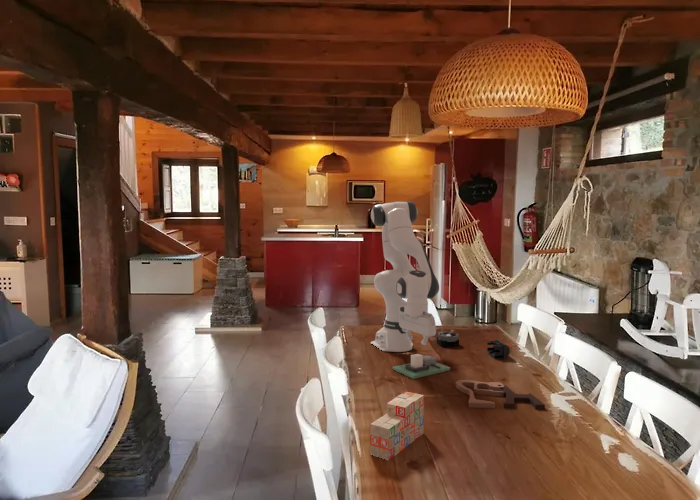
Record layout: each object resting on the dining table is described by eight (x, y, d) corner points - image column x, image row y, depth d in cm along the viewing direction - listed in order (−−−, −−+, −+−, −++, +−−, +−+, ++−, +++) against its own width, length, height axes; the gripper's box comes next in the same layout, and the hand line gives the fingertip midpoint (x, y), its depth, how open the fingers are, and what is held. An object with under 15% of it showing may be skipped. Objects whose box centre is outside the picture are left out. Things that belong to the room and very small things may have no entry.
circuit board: (392, 369, 220) (392, 360, 219) (428, 361, 230) (428, 353, 230) (413, 378, 208) (413, 369, 207) (450, 370, 218) (450, 361, 218)
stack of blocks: (388, 461, 141) (389, 418, 140) (369, 455, 145) (369, 413, 144) (424, 433, 159) (424, 394, 158) (406, 428, 162) (406, 390, 161)
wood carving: (545, 411, 176) (528, 387, 199) (545, 405, 176) (528, 381, 199) (461, 408, 179) (454, 384, 202) (462, 402, 179) (455, 379, 202)
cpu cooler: (461, 336, 254) (441, 336, 252) (461, 347, 254) (441, 348, 253) (454, 330, 264) (435, 331, 263) (454, 341, 264) (435, 342, 263)
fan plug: (410, 369, 217) (410, 355, 216) (419, 367, 219) (419, 353, 219) (415, 370, 214) (415, 356, 214) (423, 368, 216) (423, 355, 216)
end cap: (510, 359, 234) (510, 344, 234) (495, 359, 233) (495, 345, 233) (501, 352, 244) (501, 338, 243) (486, 353, 243) (486, 339, 243)
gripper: (439, 313, 207) (439, 347, 208) (407, 304, 224) (407, 336, 226) (428, 315, 204) (427, 349, 205) (396, 306, 221) (396, 338, 222)
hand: (416, 342), depth 216 cm, fingers open, 8 cm apart
